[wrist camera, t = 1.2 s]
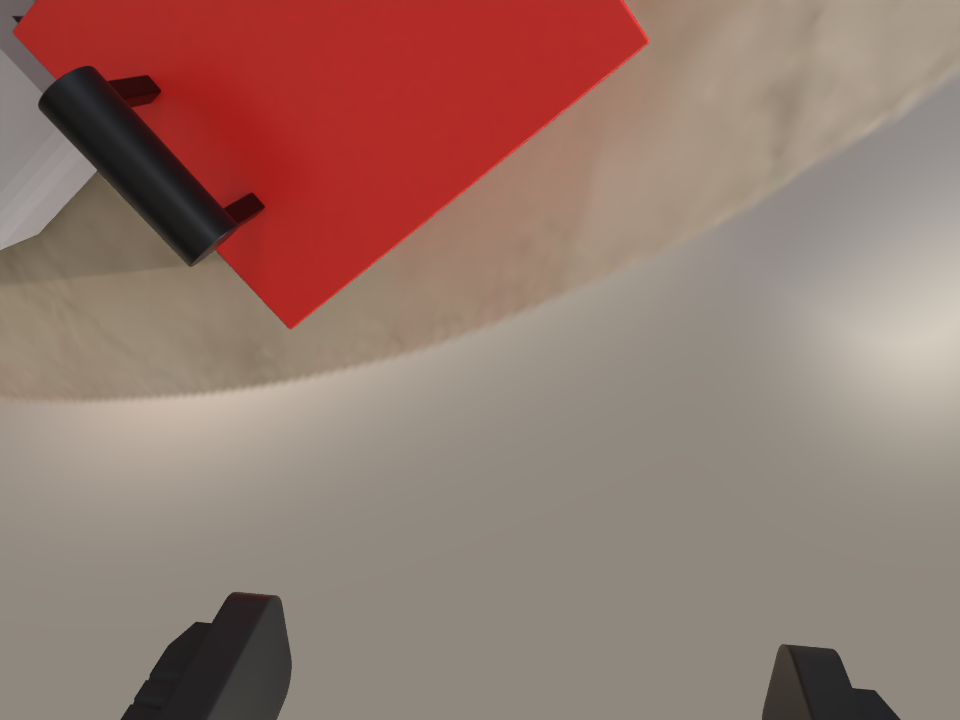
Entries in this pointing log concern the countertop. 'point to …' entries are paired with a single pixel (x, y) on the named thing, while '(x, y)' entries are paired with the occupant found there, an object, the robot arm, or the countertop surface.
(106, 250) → the countertop surface
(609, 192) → the countertop surface
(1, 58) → the charger
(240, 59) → the red box lid
